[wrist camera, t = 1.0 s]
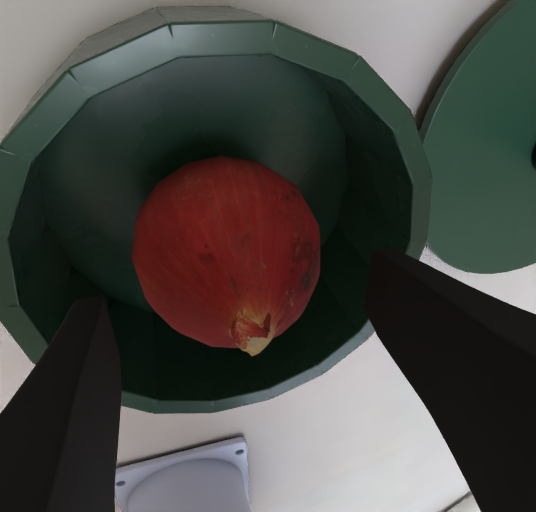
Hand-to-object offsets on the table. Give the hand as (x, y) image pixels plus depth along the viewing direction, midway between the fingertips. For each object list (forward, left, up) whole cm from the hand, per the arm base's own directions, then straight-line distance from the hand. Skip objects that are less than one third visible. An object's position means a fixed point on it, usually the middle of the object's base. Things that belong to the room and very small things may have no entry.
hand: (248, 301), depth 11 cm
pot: (0, 0, -7) cm, 7 cm away
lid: (+1, -15, -6) cm, 17 cm away
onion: (0, 0, -7) cm, 7 cm away
